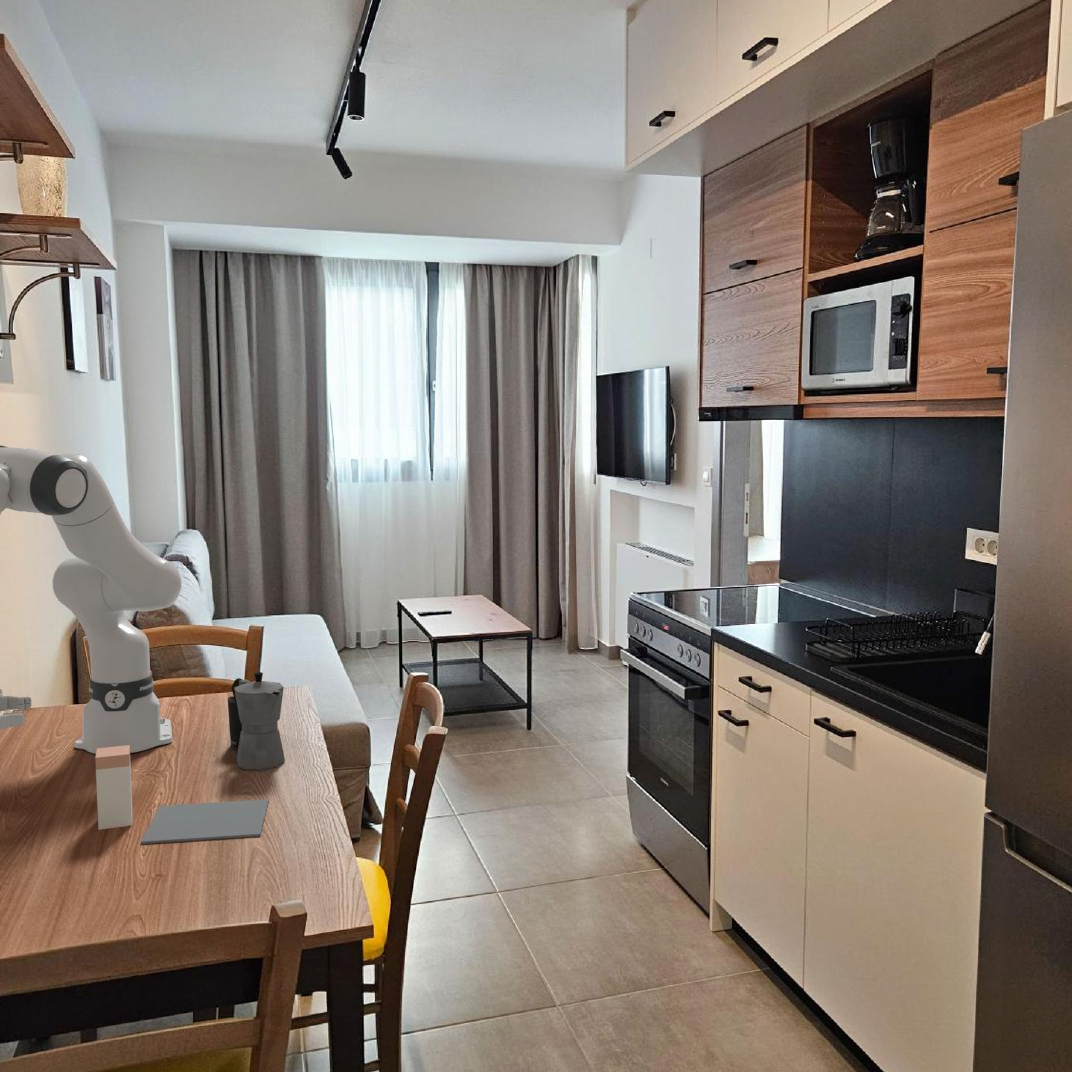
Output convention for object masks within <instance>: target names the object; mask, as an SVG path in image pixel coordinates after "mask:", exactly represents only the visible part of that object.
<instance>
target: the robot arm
mask: <svg viewBox="0 0 1072 1072" xmlns="http://www.w3.org/2000/svg"><path fill="white" fill-rule="evenodd" d="M116 505H117V504H116V503H115V501H114V499H113V496H112V494H111V492H110V490H109V488H108V486H107V484H106V482H105V481H104V478H103V477H102V476H101V474H100V472H99V471H98V469H97V468H96V467H95V466H94V464H93V463H92V461H91V460H90V459H89V458H87V457H86V456H84V455H81V454H77V453H65V454H64V453H63V454H53V453H49V452H46V451H42V450H39V449H34V448H24V447H23V448H22V447H11V446H10V447H8V446H6V445H0V515H2V513H3V512H4V511H5V510H6V509H9V510H12V511H17V512H26V513H33V514H44V515H46V516H51V518H52V520H53V522H54V523H55V526H56V528H57V530H58V532H59V534H60V536H61V538H62V540H63V542H64V545H65V547H66V548H67V550H68V551H69V552H70V553H71V554H72V555H73V556H74V557H73V558H69V559H64V560H63V561H62V562H61V563H60V564H58V566H57V568H56V570H55V571H54V573H53V578H52V590H53V593H54V595H55V597H56V599H57V600H58V602H59V603H61V604H62V605H63V606H65V607H66V608H67V609H68V610H69V611H71V613H72V614H73V615H74V616H75V618H76V619H77V620H78V622H79V624H80V626H81V628H82V630H83V631H84V634H85V637H86V640H87V643H88V648H89V657H90V658H89V660H90V673H91V679H89V686H88V691H89V698H91V699H89V701H88V702H87V703H86V704H85V705H84V706H83V707H82V724H81V725H82V732H81V733H82V736H81V738H79V739H77V740H76V741H74V748H75V749H76V748H77V749H80V750H85V751H86V752H88V753H91V754H95V755H96V751H97V748H106V747H116V746H125V745H130V754H132V753H137V752H142V751H146V750H149V749H152V748H154V747H158V746H161V745H166V744H170V743H172V742H173V731H172V722H171V720H170V719H168V718H164V717H161V708H160V707H161V706H160V700H159V699H158V697H157V696H156V694H155V693H154V690H155V689H154V688H155V687H154V684H155V683H154V682H155V681H154V679H153V671H152V670H151V665H150V664H151V663H150V661H151V660H150V642H149V639H148V637H147V635H146V633H145V632H144V631H142V630H141V629H139V628H137V627H136V626H134V625H132V624H133V623H131V622H130V621H129V620H128V618H127V617H126V615H125V612H126V611H127V612H151V611H156V610H157V611H158V610H162V609H166V608H167V609H168V608H170V607H171V606H172V605H173V604H174V603H175V602H176V601H177V599H178V597H179V595H180V594H181V590H182V578H181V574H180V572H179V570H178V568H177V567H176V565H175V564H174V563H173V562H171V561H169V560H167V559H166V558H163V557H161V556H159V555H158V554H156V553H154V552H153V551H152V550H150V549H149V548H147V547H146V546H145V545H144V544H143V543H142V542H141V541H140V540H139V539H137V538H136V537H135V536H134V534H133V533H131V531H130V529H129V528H128V527H127V526H126V523H125V522H124V520H123V517H122V516H121V514H120V512H119V510H118V508H117V506H116ZM32 702H33V701H32V698H31V696H22V697H19V696H13V695H12V696H11V695H5V696H4V695H3V690H2V689H1V688H0V713H1V712H7V711H8V710H12V711H13V710H14V711H15V710H18V712H11V713H9V714H2V715H0V731H2V730H4V729H9V728H12V727H13V728H14V727H22V726H23V725H24V723H25V721H26V720H25V713H24V711H28V710H30V709H31V708H32V705H33V704H32ZM22 711H23V712H22Z"/></svg>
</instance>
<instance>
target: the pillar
mask: <svg viewBox="0 0 1072 1072" xmlns="http://www.w3.org/2000/svg"><path fill="white" fill-rule="evenodd" d="M94 761H95V779H96V781H95V782H96V783H95V784H96V799H97V800H96V802H97V826H98V829H97V830H99V831H100V830H107V829H108V830H109V829H115V828H116V829H117V828H121V827H122V828H124V827H132V825H133V794H132V792H133V791H132V767H131V753H130V745H125V746H116V747H106V748H97V751H96V754H95V760H94Z"/></svg>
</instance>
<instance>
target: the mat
mask: <svg viewBox="0 0 1072 1072" xmlns="http://www.w3.org/2000/svg"><path fill="white" fill-rule="evenodd" d="M269 801H270V800H269V799H267V798H266V799H250V800H249V799H248V800H235V801H233V800H232V801H218V802H217V801H215V802H203V803H202V802H200V803H186V804H183V803H182V804H169V805H159V807H158V809H157V810H156V812H155V814H154V816H153V818H152V820H151V821H150V824H149V826H148V828H147V829H146V832H145V833H144V835H143V837H142V839H141V841H140V845H146V844H149V845H150V844H163V843H175V842H176V843H177V842H193V841H207V840H224V839H236V838H237V839H238V838H239V839H240V838H253V837H255V838H256V837H261V836H262V835H261V834H262V831H263V827H264V823H265V818H266V814H267V811H268V806H269V803H270V802H269Z"/></svg>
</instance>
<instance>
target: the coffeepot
mask: <svg viewBox="0 0 1072 1072" xmlns="http://www.w3.org/2000/svg"><path fill="white" fill-rule="evenodd" d="M263 675H264V673H263V672H261V671H257V672H254V679H255V680H254V681H250V680H248V679H243V678H236V679H235V680H234V681H233V683H232V684H231V690H232V691H231V693H232V696H234V700H235V706H236V710H237V714H238V718H239V719H240V721H241V723H242V731H241V734H240V740H239V747H238V750H237V755H236V765H237V767H239V768H240V769H243V770H246V771H248V770H249V771H263V770H269V769H274V768H276V767H279V766H281V765H283V763H284V762H285V761H286V759H285V753H284V748H283V743H282V738H281V734H280V729H279V727H278V725H279V723H278V721H279V720H280V719H281V712H282V705H283V704H282V703H283V696H284V689H285V687H284V685H282V684H281V683H280V682H275V681H265V680H263Z"/></svg>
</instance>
